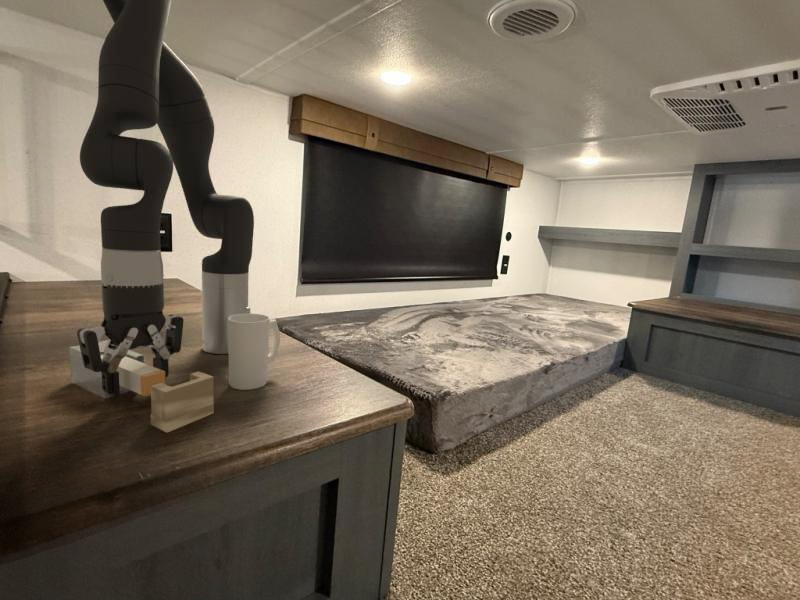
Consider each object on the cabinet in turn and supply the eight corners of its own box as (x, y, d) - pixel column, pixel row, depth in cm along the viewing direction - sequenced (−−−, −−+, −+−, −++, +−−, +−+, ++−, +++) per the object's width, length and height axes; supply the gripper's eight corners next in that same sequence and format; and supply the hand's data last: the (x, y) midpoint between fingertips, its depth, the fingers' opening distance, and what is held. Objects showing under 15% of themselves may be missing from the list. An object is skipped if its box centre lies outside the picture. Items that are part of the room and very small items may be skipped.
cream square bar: (81, 368, 64) (80, 350, 64) (101, 363, 67) (100, 346, 67) (145, 396, 56) (144, 376, 56) (165, 389, 59) (165, 371, 59)
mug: (242, 394, 65) (243, 324, 62) (219, 383, 68) (219, 316, 66) (290, 378, 73) (292, 316, 71) (267, 369, 76) (268, 309, 74)
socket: (150, 424, 53) (149, 385, 52) (198, 406, 59) (197, 371, 58) (167, 432, 51) (166, 392, 50) (213, 413, 58) (213, 376, 57)
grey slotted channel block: (71, 382, 64) (69, 347, 63) (111, 372, 69) (109, 339, 68) (105, 398, 59) (103, 360, 58) (144, 386, 64) (143, 351, 63)
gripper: (166, 274, 65) (168, 369, 68) (60, 280, 52) (68, 396, 55) (195, 279, 62) (196, 379, 64) (89, 287, 49) (96, 411, 52)
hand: (137, 387), depth 60 cm, fingers open, 6 cm apart
